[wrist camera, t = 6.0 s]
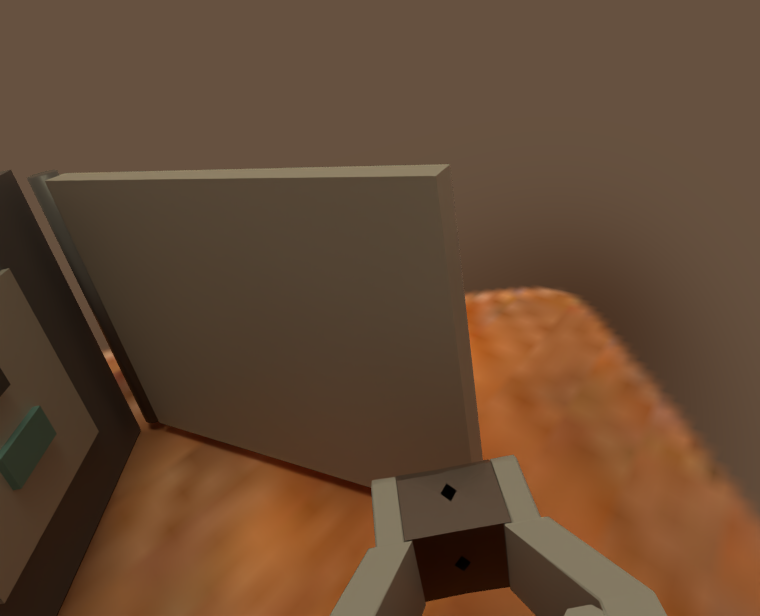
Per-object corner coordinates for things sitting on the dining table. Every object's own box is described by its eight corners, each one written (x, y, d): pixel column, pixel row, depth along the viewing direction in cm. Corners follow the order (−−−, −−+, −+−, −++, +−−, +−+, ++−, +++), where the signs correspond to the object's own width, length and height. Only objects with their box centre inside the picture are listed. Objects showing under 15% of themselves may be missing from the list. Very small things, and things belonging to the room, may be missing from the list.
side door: (491, 494, 18) (456, 154, 13) (478, 525, 17) (433, 172, 12) (162, 402, 26) (54, 167, 21) (140, 420, 25) (21, 179, 20)
